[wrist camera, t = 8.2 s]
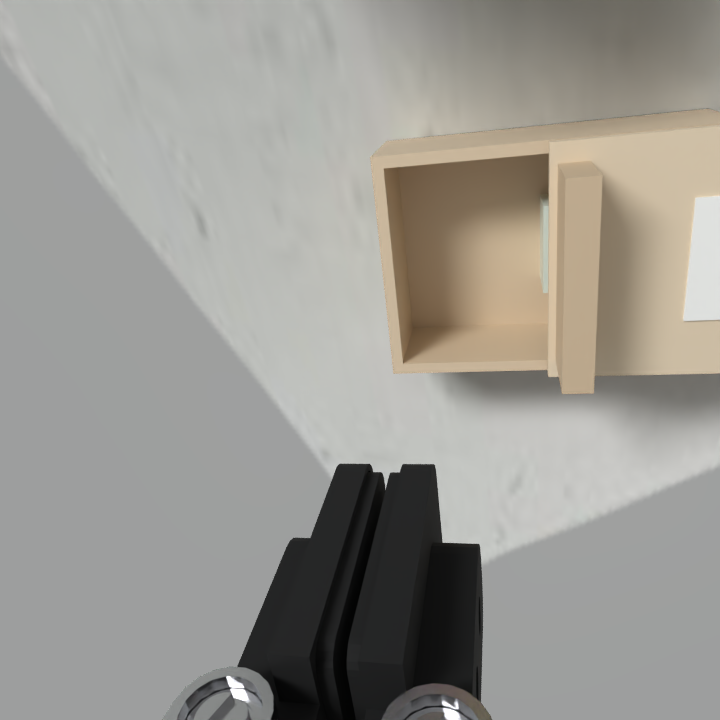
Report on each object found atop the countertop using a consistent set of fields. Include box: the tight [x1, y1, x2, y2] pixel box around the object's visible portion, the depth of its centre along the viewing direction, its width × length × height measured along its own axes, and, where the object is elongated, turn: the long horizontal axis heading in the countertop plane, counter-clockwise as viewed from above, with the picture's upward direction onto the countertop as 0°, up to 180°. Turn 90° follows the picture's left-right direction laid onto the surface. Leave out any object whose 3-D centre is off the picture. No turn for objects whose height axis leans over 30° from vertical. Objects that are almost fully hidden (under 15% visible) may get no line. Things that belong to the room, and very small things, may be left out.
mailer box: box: [370, 109, 720, 374], centre depth 29 cm, size 14×10×5 cm
